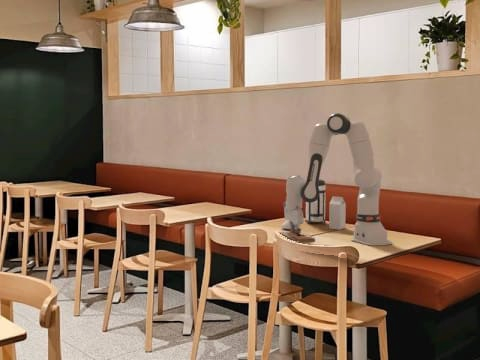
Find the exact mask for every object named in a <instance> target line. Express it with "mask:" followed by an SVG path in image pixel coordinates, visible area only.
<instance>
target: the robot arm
mask: <svg viewBox="0 0 480 360" xmlns="http://www.w3.org/2000/svg"><path fill="white" fill-rule="evenodd" d="M336 135H345V136H346V138H347V140H348V145H349V148H350V152H351V153H350V154H351V157H352V163H353V165H352V166H353V173H354V183H355V185H356V186H357V187H358V188H359V191H358V196H357V205H356V207H357V213H356V216H355V217H356V222H355V224H354V225H353V226H354V229H353V237H352V238H351V242H356V243H359V244H363V245H367V246H386V245H393V242H392V241H391V240H390V239H388V230H387V229H385V227H384V226H383V224H382V223H381V216H380V213H379V211H380V210H379V204H380V203H379V201H380V193H381V185H382V172H381V171H380V169H378V168H377V167H376V166H375V161H374V151H373V147H372V143H371V139H370V136H369V132H368V130H367V128H366V126H365V124H364V122H362V121H351V120H350V118H349V117H348V116H346V115H345V114H343V113H338V112H337V113H335V112H334V113H333V114H331V115H329V116H328V118H327V121H326V123H316V125H314V127H313V129H312V132H311V135H310V138H309V143H308V150H307V151H308V162H309V163H308V164H309V165H308V173H307V178H305V177H303V176H301V175H292V176H289V177H288V178H286V179H287V180H286V184H285V185H286V186H285V192H286V197H285V202H283V207H284V210H283V212H284V213H283V214H284V219H285V220H286V221H287V220H289V224H290V229H289V230H291V225H293V223H294V225H295V226H294V230H299V228H298V226H299V224H300V225H304V221H305V219H304V211H303V210H302V208H303V201H304V202H305V203H306V202H308V203H312V202H315V201H316V200H317V199H318V198H319V195H320V192H319V187H318V181H319V179H320V175H321V170H322V166H323V164H324V162H325V160H326V158H327V156H328V153H329V151H330V145H331V140H332V138H333V136H336Z"/></svg>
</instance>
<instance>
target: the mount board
mask: <svg viewBox="0 0 480 360" xmlns="http://www.w3.org/2000/svg"><path fill="white" fill-rule="evenodd" d="M287 232H288V231H280V232H278V234H279V233H280V234H282V235H283V236H285V237H287V238H288V239H290V240H293V241H301V242H300V243H306V242H310V243H311V242H316V238H315V237H314V236H311V235H309V234H307V235H308V236H310V237H311V239H299V240H298V239H296V238H294V237H292V236H290V235H288V234H287ZM294 233H296V235H297V236H298V237H302V236H299V233H303V234H305V233H304V232H302V231H301V230H300V229H298V230H294ZM288 239H287V240H288ZM290 240H289V241H290Z"/></svg>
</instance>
